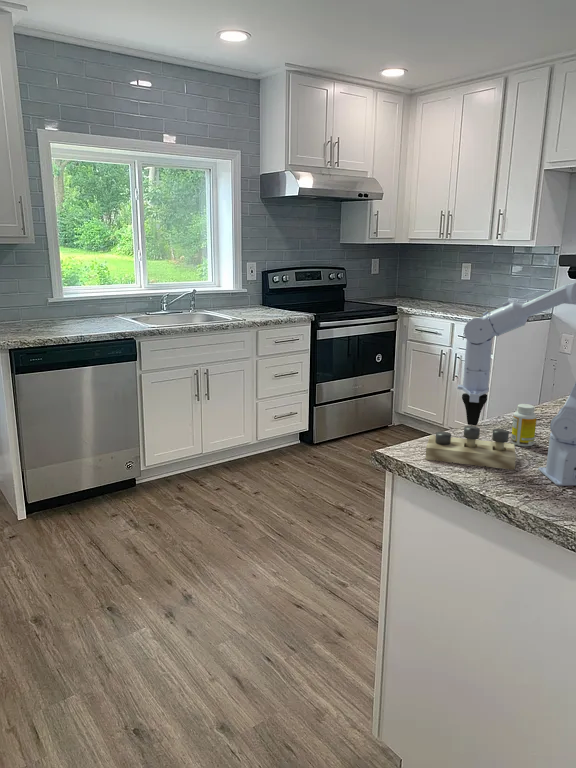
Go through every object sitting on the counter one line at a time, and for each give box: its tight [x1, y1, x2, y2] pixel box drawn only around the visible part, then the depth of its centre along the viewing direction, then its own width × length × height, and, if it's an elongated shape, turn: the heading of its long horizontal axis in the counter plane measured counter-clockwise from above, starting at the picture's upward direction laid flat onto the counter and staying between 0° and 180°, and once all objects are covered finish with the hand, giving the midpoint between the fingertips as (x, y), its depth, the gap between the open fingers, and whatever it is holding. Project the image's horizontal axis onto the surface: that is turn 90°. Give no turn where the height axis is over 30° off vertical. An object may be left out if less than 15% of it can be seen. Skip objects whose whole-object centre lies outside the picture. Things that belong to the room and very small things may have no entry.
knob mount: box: [425, 434, 517, 471], centre depth 139 cm, size 20×10×3 cm, turn 71°
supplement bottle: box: [510, 403, 538, 447], centre depth 148 cm, size 6×6×10 cm
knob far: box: [435, 431, 452, 445], centre depth 141 cm, size 4×4×5 cm
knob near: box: [491, 428, 510, 451], centre depth 136 cm, size 4×4×5 cm
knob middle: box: [463, 425, 481, 448], centre depth 138 cm, size 4×4×5 cm
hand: (472, 424), depth 138 cm, fingers closed
